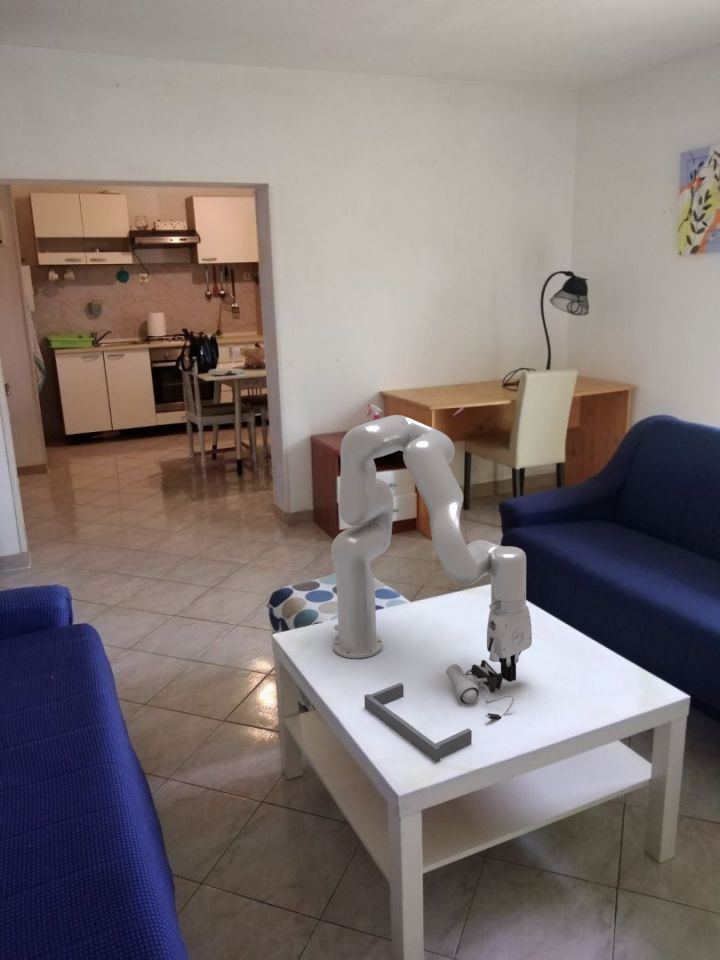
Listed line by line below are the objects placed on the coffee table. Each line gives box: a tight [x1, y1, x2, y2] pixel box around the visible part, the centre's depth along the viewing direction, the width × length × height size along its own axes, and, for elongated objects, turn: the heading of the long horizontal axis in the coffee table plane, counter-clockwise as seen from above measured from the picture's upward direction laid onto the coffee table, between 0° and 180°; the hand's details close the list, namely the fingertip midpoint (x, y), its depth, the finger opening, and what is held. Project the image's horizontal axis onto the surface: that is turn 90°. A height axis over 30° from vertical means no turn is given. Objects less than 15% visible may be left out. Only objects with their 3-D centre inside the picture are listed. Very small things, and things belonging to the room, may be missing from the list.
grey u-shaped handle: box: [363, 682, 473, 764], centre depth 151 cm, size 24×10×3 cm, turn 34°
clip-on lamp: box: [446, 659, 515, 720], centre depth 160 cm, size 12×6×18 cm
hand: (508, 678), depth 164 cm, fingers closed
